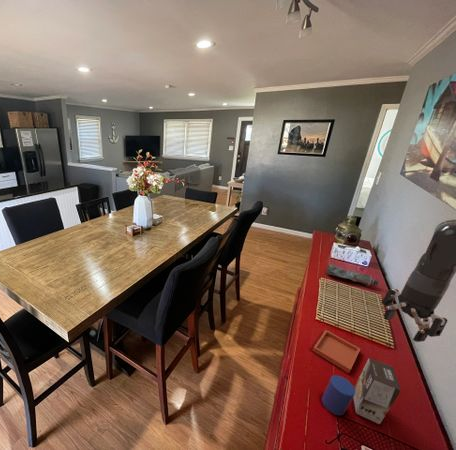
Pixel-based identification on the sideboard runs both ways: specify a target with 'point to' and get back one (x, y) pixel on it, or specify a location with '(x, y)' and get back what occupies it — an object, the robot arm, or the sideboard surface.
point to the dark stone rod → (350, 275)
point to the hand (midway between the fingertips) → (401, 329)
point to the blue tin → (338, 395)
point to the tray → (336, 351)
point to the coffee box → (376, 390)
